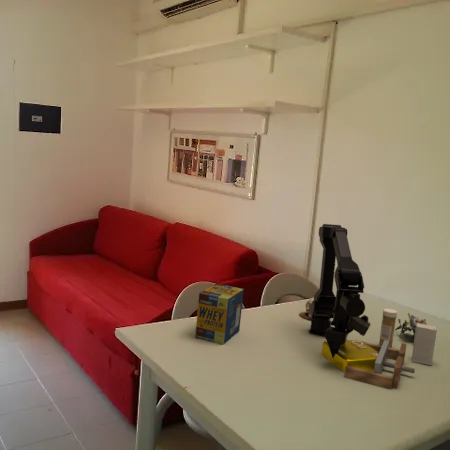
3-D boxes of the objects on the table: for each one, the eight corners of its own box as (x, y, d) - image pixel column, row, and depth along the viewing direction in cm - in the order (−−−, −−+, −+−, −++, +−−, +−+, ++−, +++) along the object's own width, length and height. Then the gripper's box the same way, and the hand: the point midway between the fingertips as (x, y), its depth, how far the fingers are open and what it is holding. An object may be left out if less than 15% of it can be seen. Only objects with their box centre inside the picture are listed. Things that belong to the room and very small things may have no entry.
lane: (344, 376, 144) (347, 357, 143) (359, 349, 167) (361, 332, 166) (396, 390, 138) (399, 370, 138) (404, 360, 161) (407, 342, 160)
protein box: (194, 338, 164) (198, 292, 161) (213, 324, 178) (216, 283, 176) (223, 345, 160) (228, 298, 158) (240, 331, 174) (244, 288, 172)
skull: (336, 320, 192) (321, 300, 190) (314, 336, 193) (299, 316, 191) (327, 309, 204) (313, 290, 202) (307, 324, 205) (293, 306, 203)
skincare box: (430, 361, 162) (436, 326, 161) (431, 366, 158) (437, 330, 157) (411, 357, 164) (416, 322, 162) (411, 361, 160) (416, 326, 158)
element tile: (318, 354, 161) (320, 340, 160) (357, 351, 166) (359, 337, 166) (344, 374, 147) (346, 359, 146) (386, 370, 152) (388, 356, 152)
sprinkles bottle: (394, 349, 170) (400, 311, 168) (386, 351, 167) (391, 313, 166) (383, 344, 174) (389, 307, 172) (375, 346, 171) (380, 308, 169)
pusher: (372, 380, 143) (375, 362, 142) (382, 355, 162) (384, 339, 161) (411, 390, 138) (413, 372, 138) (416, 364, 158) (418, 347, 157)
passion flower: (418, 357, 180) (426, 338, 171) (388, 344, 184) (394, 325, 176) (426, 333, 186) (434, 314, 178) (397, 322, 191) (404, 303, 182)
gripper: (365, 320, 143) (358, 370, 145) (374, 304, 160) (368, 350, 162) (327, 311, 148) (320, 361, 150) (340, 297, 165) (334, 342, 167)
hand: (337, 353), depth 157 cm, fingers open, 9 cm apart
